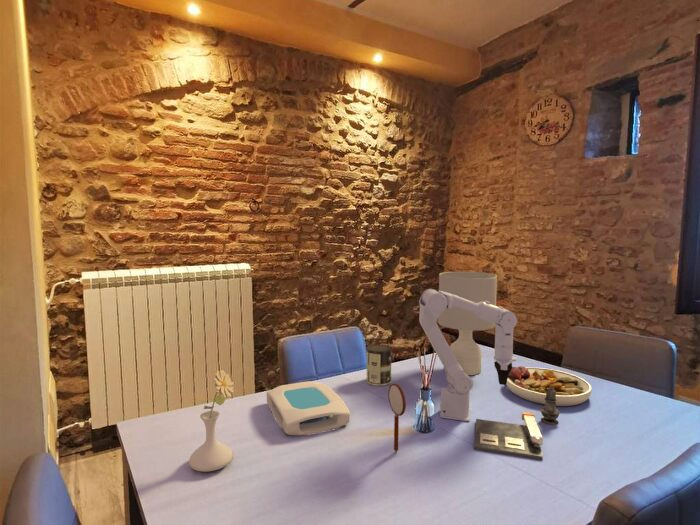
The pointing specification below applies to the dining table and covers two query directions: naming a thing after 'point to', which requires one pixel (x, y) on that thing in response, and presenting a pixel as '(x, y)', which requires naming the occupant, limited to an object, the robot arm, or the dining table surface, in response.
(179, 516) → the dining table surface
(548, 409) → the grey tall carved piece
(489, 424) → the label panel
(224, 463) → the flower in vase
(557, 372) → the bowl
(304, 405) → the document scanner
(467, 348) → the lamp
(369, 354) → the coffee can
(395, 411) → the magnifying glass
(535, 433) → the swing arm
